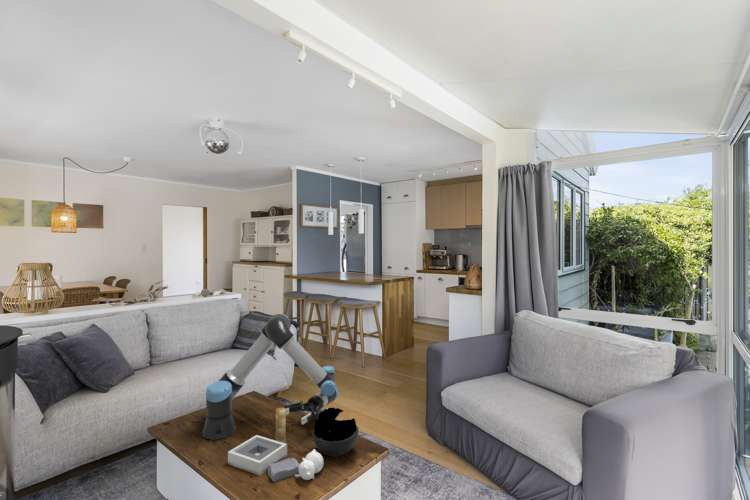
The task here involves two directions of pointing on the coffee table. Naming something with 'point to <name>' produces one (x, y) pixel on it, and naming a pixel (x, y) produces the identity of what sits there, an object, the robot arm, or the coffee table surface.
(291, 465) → the stone block
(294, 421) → the coffee table surface
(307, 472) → the cat figurine
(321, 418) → the coal bowl
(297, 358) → the robot arm
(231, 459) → the hole box
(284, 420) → the peg
